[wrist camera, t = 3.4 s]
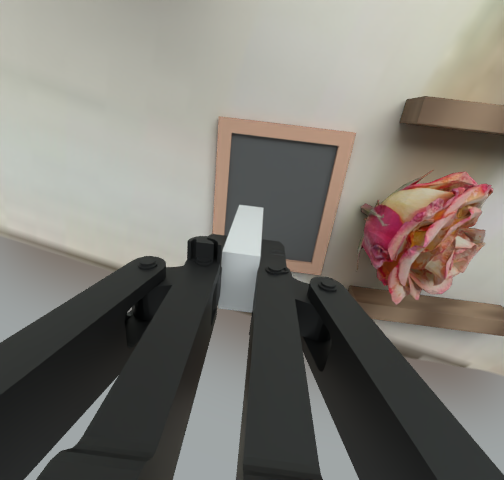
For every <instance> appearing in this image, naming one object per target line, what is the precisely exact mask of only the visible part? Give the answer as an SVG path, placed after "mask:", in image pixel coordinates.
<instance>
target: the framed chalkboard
mask: <svg viewBox="0 0 504 480" xmlns="http://www.w3.org/2000/svg"><path fill="white" fill-rule="evenodd" d="M355 136H356V133H353V132H344V131H336V130H328V129H319V128H311V127H303V126H294V125H286V124H278V123H270V122H261V121H253V120H245V119H236V118H228V117H220V116H219V122H218V140H217V159H216V177H215V196H214V215H213V233H212V234H217V235H225V236H228V234H229V232H230V229H231V226H232V223H233V221H234V218H235V215H236V212H237V210H238V207H239V205H246V206H254V207H262V208H263V224H262V239H264V240H272V241H280V242H281V243H282V244H283V245H284V249H285V257H286V264H287V268H289V269H290V271H292V272H300V273H307V274H315V275H321V272H322V268H323V264H324V260H325V256H326V252H327V248H328V244H329V240H330V236H331V232H332V228H333V224H334V220H335V216H336V212H337V208H338V204H339V200H340V196H341V192H342V188H343V184H344V180H345V176H346V172H347V168H348V164H349V160H350V156H351V152H352V148H353V144H354V140H355Z"/></svg>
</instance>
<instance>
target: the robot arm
mask: <svg viewBox="0 0 504 480" xmlns="http://www.w3.org/2000/svg"><path fill="white" fill-rule="evenodd" d="M262 224H263V208H262V207H254V206H246V205H239V207H238V210H237V212H236V215H235V218H234V221H233V223H232V226H231V229H230V232H229V234H228V236H225V235H217V234H211V235H209V236H199V237H194V238H191V239H189V240H188V252H187V261H186V263H185V265H184V266H180V267H166V262H165V261H164V260H163V259H161V258H159V257H153V256H144V257H141V258H137V259H135V260H133V261H131V262H130V263H128V264H126V265H125V266H123V267H121V268H120V269H118V270H117V271H115V272H113V273H112V274H110V275H109V276H107V277H105V278H104V279H102V280H101V281H99V282H97V283H96V284H94V285H93V286H91V287H89V288H88V289H86V290H85V291H83V292H81V293H80V294H78V295H76V296H75V297H73V298H72V299H70V300H68V301H67V302H65V303H64V304H62V305H61V306H59V307H57V308H56V309H54V310H52V311H51V312H49V313H48V314H46V315H44V316H43V317H41V318H40V319H38V320H36V321H35V322H33V323H31V324H30V325H28V326H27V327H25V328H23V329H22V330H20V331H19V332H17V333H15V334H14V335H12V336H11V337H9V338H7V339H6V340H4V341H3V342H1V343H0V480H24V479H25V478H26V477H27V475H28V474H29V473H30V472H31V471H32V470H33V469H34V468H35V467H36V466H37V464H38V463H39V462H40V461H41V460H42V459H43V458H44V457H45V456H46V455H47V453H48V452H49V451H50V450H51V449H52V448H53V447H54V446H55V445H56V443H57V442H58V441H59V440H60V439H61V438H62V437H63V436H64V435H65V434H66V432H67V431H68V430H69V429H70V428H71V427H72V426H73V425H74V424H75V423H76V421H77V420H78V419H79V418H80V417H81V416H82V415H83V414H84V413H85V412H86V410H87V409H88V408H89V407H90V406H91V405H92V404H93V403H94V401H95V400H96V399H97V398H98V397H99V396H100V395H101V394H102V393H103V392H104V391H105V389H106V388H107V387H108V386H109V385H110V384H111V383H112V382H113V381H114V380H115V378H116V377H117V376H118V375H119V376H118V378H117V379H116V381H115V383H114V384H113V386H112V388H111V389H110V391H109V393H108V395H107V396H106V398H105V400H104V401H103V403H102V405H101V406H100V408H99V410H98V411H97V413H96V415H95V416H94V418H93V420H92V421H91V423H90V425H89V426H88V428H87V430H86V431H85V433H84V435H83V437H82V438H81V439H80V441H79V442H78V443H77V445H75V446H74V447H73V448H71V449H67V450H63V451H61V452H59V453H58V454H57V455H56V456H55V457H54V458H52V460H50V462H49V463H48V464H47V466H46V467H45V468H44V470H43V471H42V472H41V474H40V475H39V476H38V478H37V479H36V480H173V476H174V472H175V469H176V465H177V461H178V457H179V454H180V450H181V446H182V442H183V438H184V435H185V431H186V428H187V424H188V420H189V416H190V413H191V409H192V405H193V401H194V398H195V394H196V390H197V387H198V382H199V379H200V376H201V371H202V368H203V364H204V361H205V357H206V353H207V349H208V346H209V342H210V338H211V334H212V331H213V326H214V323H215V320H216V315H217V305H218V308H220V309H228V310H236V311H243V312H251V313H252V317H251V325H250V332H249V335H250V338H249V348H248V359H247V370H246V380H245V391H244V401H243V413H242V422H241V423H242V424H241V433H240V444H239V454H238V465H237V477H236V480H323V479H322V477H321V473H320V468H319V462H318V455H317V448H316V441H315V434H314V427H313V420H312V414H311V406H310V399H309V392H308V385H307V379H306V372H305V365H304V358H303V353H304V355H305V357H306V360H307V362H308V364H309V366H310V369H311V371H312V373H313V375H314V378H315V380H316V382H317V385H318V387H319V389H320V391H321V394H322V396H323V398H324V400H325V403H326V405H327V407H328V409H329V412H330V414H331V416H332V418H333V421H334V423H335V425H336V427H337V430H338V432H339V435H340V437H341V439H342V441H343V444H344V446H345V448H346V450H347V453H348V455H349V457H350V459H351V462H352V464H353V466H354V469H355V471H356V473H357V475H358V478H359V480H504V475H503V474H502V473H501V471H500V470H499V469H498V468H497V467H496V465H495V464H494V463H493V462H492V461H491V460H490V459H489V457H488V456H487V455H486V454H485V452H484V451H483V450H482V449H481V448H480V447H479V445H478V444H477V443H476V442H475V441H474V440H473V438H472V437H471V436H470V435H469V434H468V432H467V431H466V430H465V429H464V428H463V427H462V425H461V424H460V423H459V422H458V421H457V419H456V418H455V417H454V416H453V415H452V413H451V412H450V411H449V410H448V409H447V408H446V407H445V405H444V404H443V403H442V402H441V401H440V399H439V398H438V397H437V396H436V395H435V394H434V392H433V391H432V390H431V389H430V388H429V386H428V385H427V384H426V383H425V382H424V381H423V379H422V378H421V377H420V376H419V375H418V373H417V372H416V371H415V370H414V369H413V367H412V366H411V365H410V364H409V363H408V362H407V360H406V359H405V358H404V357H403V356H402V354H401V353H400V352H399V351H398V350H397V349H396V347H395V346H394V345H393V344H392V343H391V341H390V340H389V339H388V338H387V337H386V336H385V334H384V333H383V332H382V331H381V330H380V328H379V327H378V326H377V325H376V324H375V323H374V321H373V320H372V319H371V318H370V317H369V315H368V314H367V313H366V312H365V311H364V310H363V308H362V307H361V306H360V305H359V304H358V303H357V301H356V300H355V299H354V298H353V297H352V295H351V294H350V293H349V292H348V291H347V290H346V288H345V287H344V286H343V285H342V284H341V283H339V282H338V281H336V280H334V279H332V278H329V277H315V278H313V279H311V281H310V284H307V283H304V282H301V281H298V280H296V279H294V278H293V277H292V275H291V271H290V269H289V268H287V264H286V257H285V249H284V245H283V244H282V243H281V242H280V241H272V240H264V239H262ZM218 301H219V302H218ZM131 307H132V310H131V311H130V312H129V313H127V312H128V310H129V309H130V308H131ZM302 350H303V351H302Z"/></svg>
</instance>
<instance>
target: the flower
mask: <svg viewBox="0 0 504 480" xmlns="http://www.w3.org/2000/svg"><path fill="white" fill-rule="evenodd" d="M432 171H433V170H432ZM432 171H430V172H429V173H431V172H432ZM429 173H427V174H426V175H424V176H423V177H420V178H418V179H416V180H413V181H411V182H409V183H407V184H405V185H403V186H402V187H401V188H399V189H398V190H396V191H395V192H394V193H392V194H391V195H390V196H389V197H388V198H387V199H386V200H385V201H383V202H382V203H381V204H380V205H379V200H378V201H377V204H376V206H375V207H372V206H370V205H368V204H366V203H365V204H364V205H363V206H361V212H363V213H364V214H366V215H368V217H367V218H365V219H364V220H366V224H365V227H364V235H363V237H362V238H361V240H360V243H359V247H358V260H359V255H360V250H361V249H362V248H364V250H365V251H366V253H367V255H368V257H369V258H370V260H371V265H373V266H374V267H375V268H376V269H377V278H378V279H379V281H382V282H383V285H384V286H385V285H388V288H389V292H390V294H391V297H392V301H393V302H394V303H395V304H396V305H397V304H398V303H400V302H401V300H402V299H403V298H404V297H405V296H407V295H409V294H410V295H411V296H412V297H413V298H414V299H415V300H419V295H420V292H421V290H422V289H423V290H425V291H426V292H428V293H430V294H442V293H444V292H445V291H446V290H448V289H449V287H450V286H451V285H452V278H453V277H454V276H456V275H458V274H459V272H461V273H463V272H464V271H465V269H466V268H467V266H468V264H469V262H470V261H471V259H472V258H473V257H474V256H475V254H476V253H477V252H478V251H479V250H480V249H481V248H482V247H483V246H484V245H485V244H486V243H483V240H484V236H485V230H479V229H474V228H468V227H472V226H474V225H475V224H476V222H477V220H478V218H479V216H480V215H481V213H482V211H481V207H482V205H483V203H484V202H485V200H486V199H487V198H488V197H489V195H490V194H491V193H492V192H493V188H491V186H492V185H488V184H481V185H478V184H477V183H476V181H475V180H473V179H472V178H471V177H470V176H469V175H468V173H467V172H458V173H452V174H450V175H447V176H445V177H442V178H440V179H437V180H435V181H432V182H430V183H423V184H416V183H417V182H418V181H419V180H421V179H422V178H424V177H425V176H427V175H428V174H429ZM487 185H488V186H487ZM488 193H489V194H488ZM487 195H488V196H487ZM358 260H357V270H358ZM357 270H356V271H357ZM356 271H355V272H356Z"/></svg>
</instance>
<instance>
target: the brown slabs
mask: <svg viewBox="0 0 504 480" xmlns="http://www.w3.org/2000/svg"><path fill="white" fill-rule="evenodd" d="M400 123H405V124H413V125H422V126H430V127H438V128H447V129H455V130H463V131H472V132H480V133H488V134H497V135H504V105H496V104H487V103H479V102H470V101H462V100H453V99H445V98H436V97H428V96H424V97H418V98H413V99H407V100H406V103H405V107H404V110H403V113H402V116H401V120H400ZM348 292H349V293H350V294H351V295H352V297H353V298H354V299H355V300H356V301H357V303H358V304H359V305H360V306H361V307H362V308H363V310H364V311H365V312H366V313H367V314H368V315H369V317H370V318H371V319H378V320H385V321H393V322H401V323H408V324H416V325H423V326H431V327H438V328H446V329H454V330H461V331H469V332H476V333H484V334H491V335H499V336H504V308H503V307H502V306H501V305H494V304H486V303H478V302H471V301H463V300H455V299H447V298H440V297H432V296H424V295H419V300H415V299H414V298H413V297H412V296H411V295H410V294H409V295H407V296H405V297H404V298H403V299H402V300H401V302H400V303H398V304H397V305H396V304H395V303H394V302H393V301H392V297H391V294H390V292H389V291H386V290H378V289H371V288H363V287H355V286H349V289H348Z"/></svg>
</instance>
